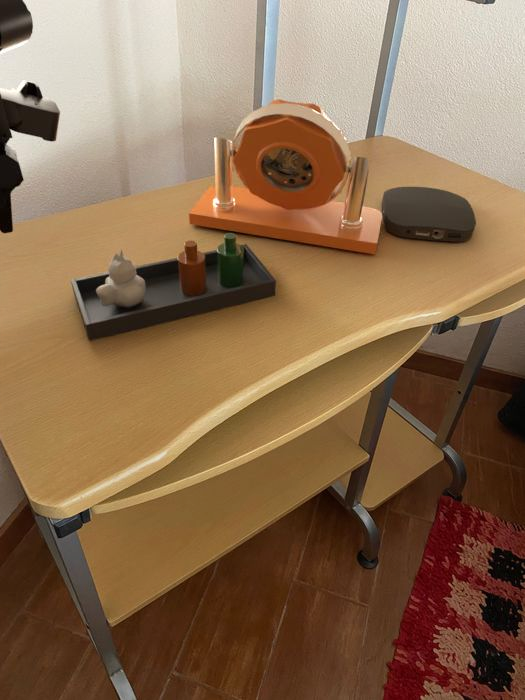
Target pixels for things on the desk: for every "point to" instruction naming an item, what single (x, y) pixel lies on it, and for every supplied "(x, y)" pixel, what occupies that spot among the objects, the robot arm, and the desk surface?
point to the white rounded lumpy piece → (122, 284)
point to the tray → (168, 295)
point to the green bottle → (230, 261)
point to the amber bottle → (192, 270)
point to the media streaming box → (427, 214)
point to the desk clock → (290, 181)
